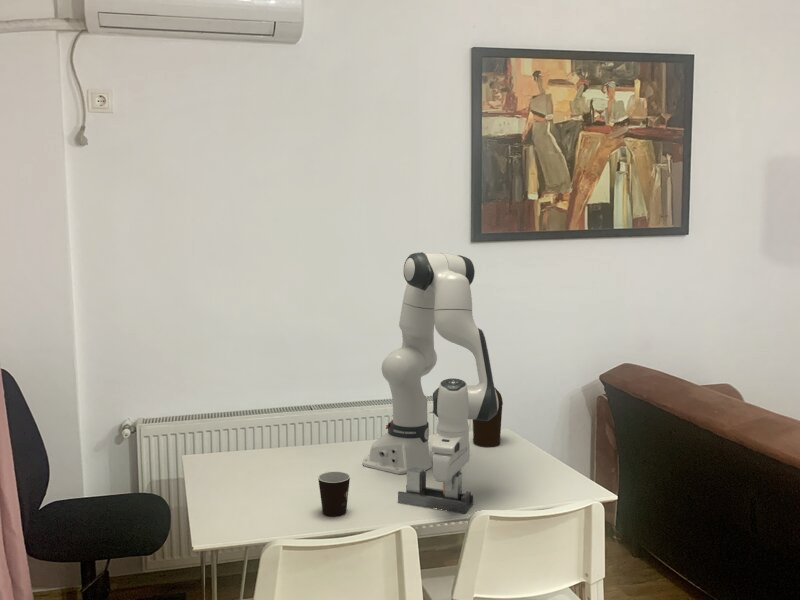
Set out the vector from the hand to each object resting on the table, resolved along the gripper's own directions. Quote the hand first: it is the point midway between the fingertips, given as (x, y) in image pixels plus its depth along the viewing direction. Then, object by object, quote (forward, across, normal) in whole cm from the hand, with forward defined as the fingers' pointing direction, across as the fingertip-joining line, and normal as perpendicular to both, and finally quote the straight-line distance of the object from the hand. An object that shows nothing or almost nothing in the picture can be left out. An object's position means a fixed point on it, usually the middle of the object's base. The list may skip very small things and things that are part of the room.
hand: (452, 487), depth 213 cm
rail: (+6, 0, -5) cm, 8 cm away
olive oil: (+6, -59, -8) cm, 60 cm away
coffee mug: (+6, +15, -28) cm, 32 cm away
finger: (+4, 0, 0) cm, 4 cm away
